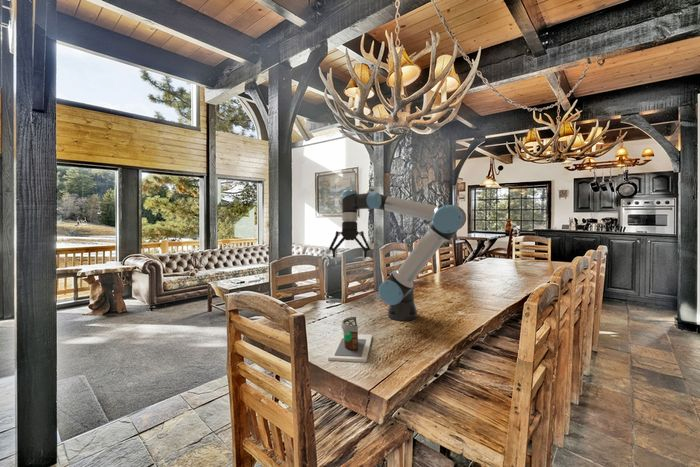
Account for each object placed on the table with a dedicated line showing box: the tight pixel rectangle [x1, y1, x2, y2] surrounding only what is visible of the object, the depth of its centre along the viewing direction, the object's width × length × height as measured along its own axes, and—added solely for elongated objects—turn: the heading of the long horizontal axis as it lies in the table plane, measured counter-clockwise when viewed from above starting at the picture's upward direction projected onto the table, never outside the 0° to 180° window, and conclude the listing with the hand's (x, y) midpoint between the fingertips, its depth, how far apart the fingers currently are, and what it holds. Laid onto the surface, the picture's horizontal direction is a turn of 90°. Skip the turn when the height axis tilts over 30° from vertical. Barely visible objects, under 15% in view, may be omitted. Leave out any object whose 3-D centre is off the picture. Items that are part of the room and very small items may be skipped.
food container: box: [341, 316, 359, 351], centre depth 129 cm, size 12×6×10 cm, turn 2°
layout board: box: [327, 333, 373, 363], centre depth 131 cm, size 14×24×1 cm, turn 171°
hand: (349, 264), depth 162 cm, fingers open, 13 cm apart
